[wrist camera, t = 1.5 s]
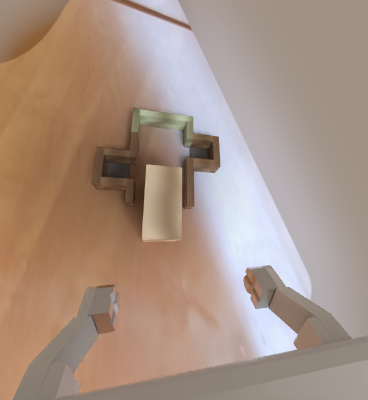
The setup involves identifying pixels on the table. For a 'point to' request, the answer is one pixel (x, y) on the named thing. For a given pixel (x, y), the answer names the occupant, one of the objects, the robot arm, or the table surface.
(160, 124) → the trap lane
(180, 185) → the beech block
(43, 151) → the table surface
